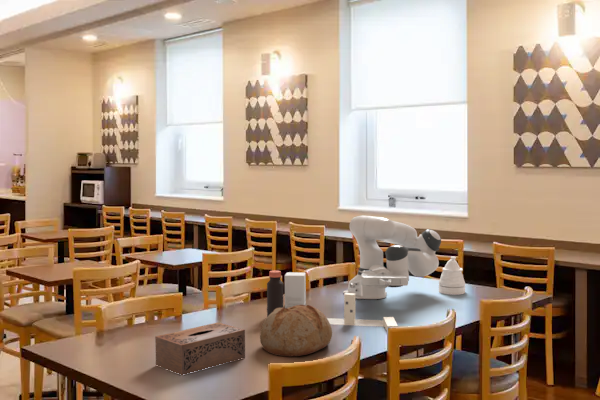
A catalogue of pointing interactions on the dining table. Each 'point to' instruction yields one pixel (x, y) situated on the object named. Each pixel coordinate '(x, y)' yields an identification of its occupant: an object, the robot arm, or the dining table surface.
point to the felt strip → (357, 322)
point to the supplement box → (295, 289)
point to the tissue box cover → (200, 347)
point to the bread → (295, 331)
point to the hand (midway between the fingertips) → (386, 283)
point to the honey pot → (452, 279)
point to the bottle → (274, 292)
